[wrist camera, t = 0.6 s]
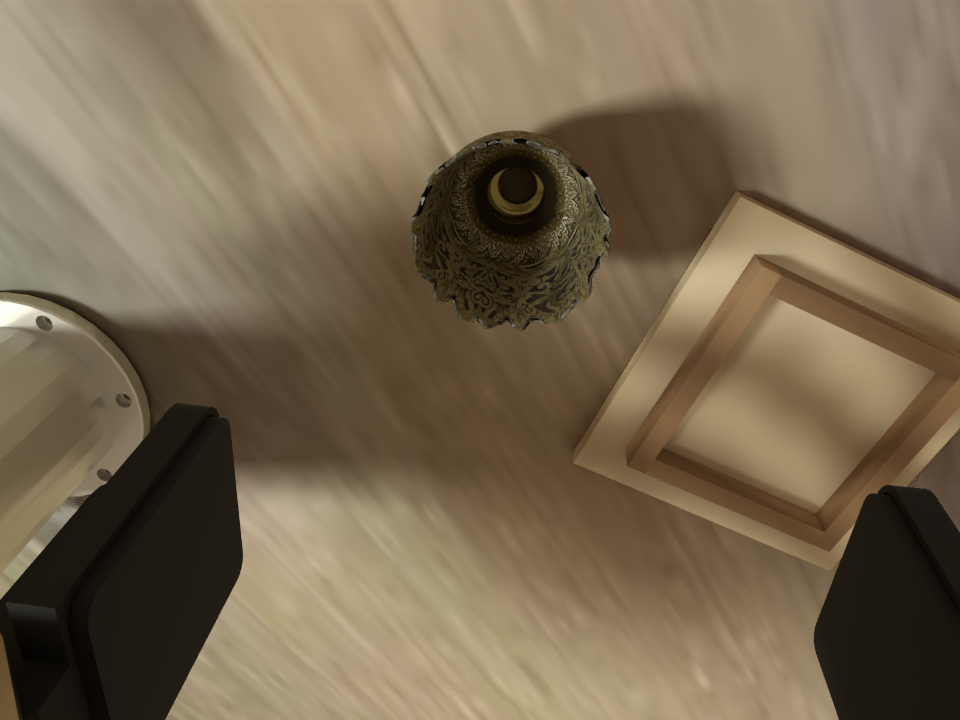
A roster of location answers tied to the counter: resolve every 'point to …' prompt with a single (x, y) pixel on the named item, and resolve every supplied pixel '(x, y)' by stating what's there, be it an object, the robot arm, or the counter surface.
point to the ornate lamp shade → (510, 232)
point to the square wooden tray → (783, 385)
